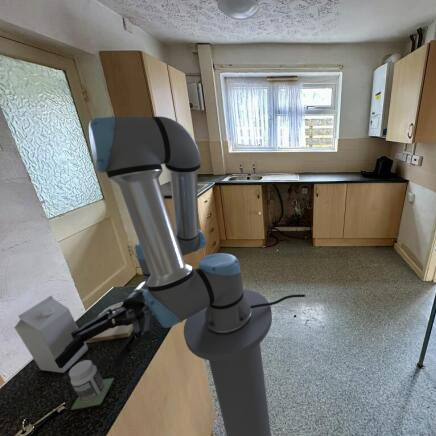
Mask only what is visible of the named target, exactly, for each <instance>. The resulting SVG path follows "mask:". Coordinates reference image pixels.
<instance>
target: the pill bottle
mask: <svg viewBox="0 0 436 436" xmlns="http://www.w3.org/2000/svg"><path fill="white" fill-rule="evenodd" d="M68 376H69V379H70V384H71V386H72V388H73V390H74V391H75V392H76V394H77V396H78V397H79V398H80V400H81V401H83V402H88V401H91V400H93V399H95V398H96V397H97V396H99V395H100V394H101V393H102V391H103V390H104V388H105V383H104V381H103V380H104V379H103V377H102V375H101V373H100V371H99V369H98V367H97V366H96V365H95V364H93V361H92V360H90V359H84V360H82V361H79V362H77V363H76V364H75V365H74V366H73V365H72V367H70V370H69V372H68Z"/></svg>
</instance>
